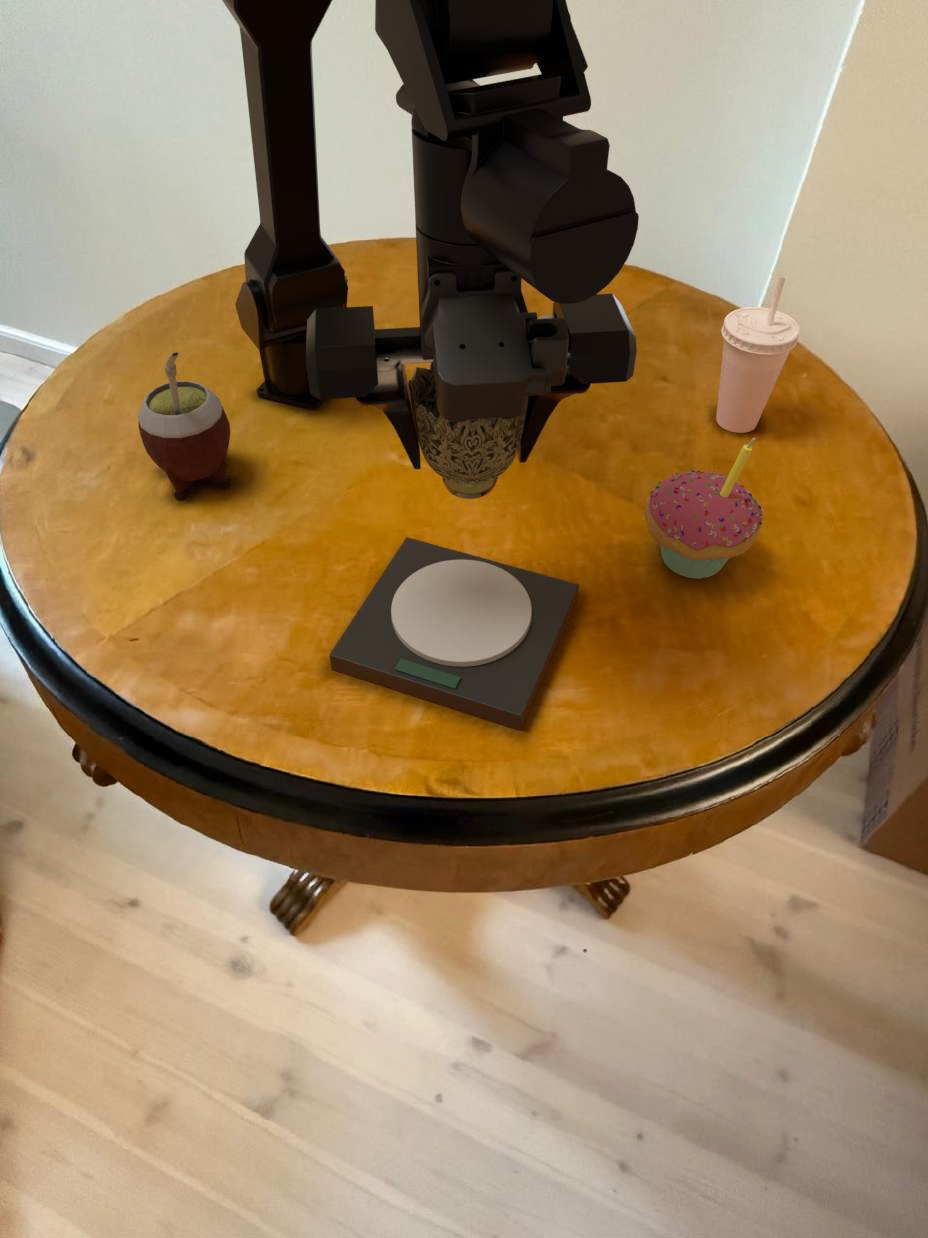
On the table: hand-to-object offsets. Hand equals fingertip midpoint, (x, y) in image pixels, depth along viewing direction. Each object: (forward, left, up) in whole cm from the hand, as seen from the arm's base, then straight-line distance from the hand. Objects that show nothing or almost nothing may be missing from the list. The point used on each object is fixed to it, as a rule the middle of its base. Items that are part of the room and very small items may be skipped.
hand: (469, 462), depth 59 cm
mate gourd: (-26, +4, -13) cm, 29 cm away
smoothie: (+15, +30, -13) cm, 36 cm away
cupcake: (+15, +10, -13) cm, 22 cm away
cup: (0, 0, -2) cm, 2 cm away
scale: (+1, -4, -12) cm, 13 cm away
